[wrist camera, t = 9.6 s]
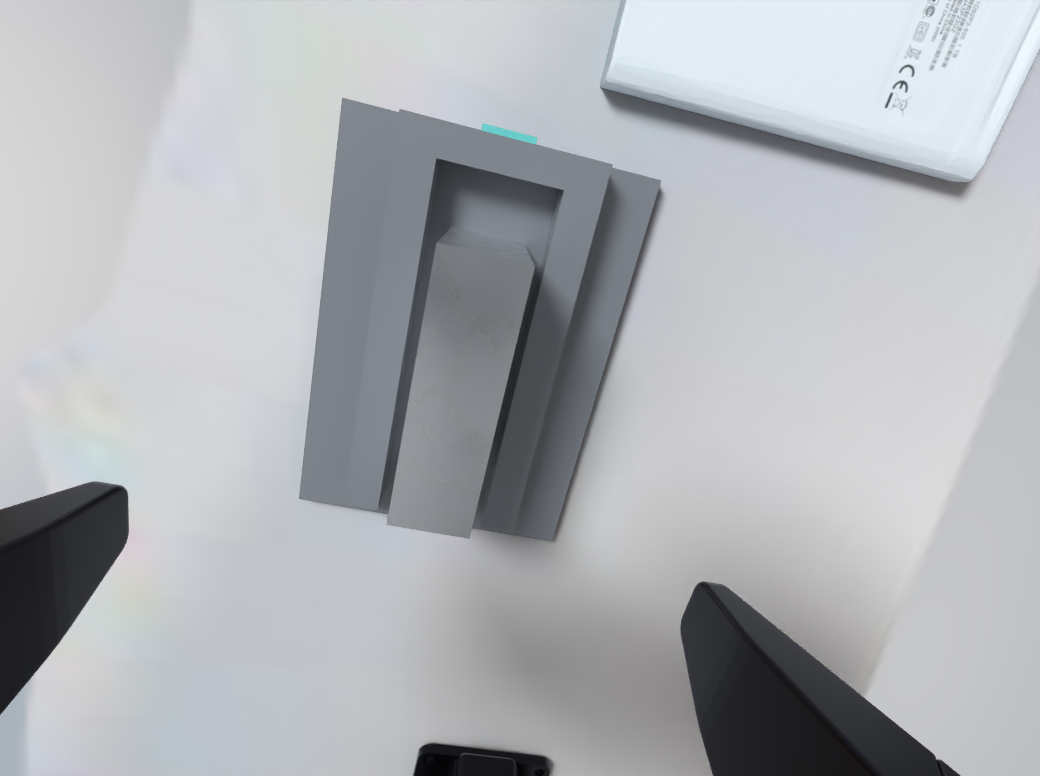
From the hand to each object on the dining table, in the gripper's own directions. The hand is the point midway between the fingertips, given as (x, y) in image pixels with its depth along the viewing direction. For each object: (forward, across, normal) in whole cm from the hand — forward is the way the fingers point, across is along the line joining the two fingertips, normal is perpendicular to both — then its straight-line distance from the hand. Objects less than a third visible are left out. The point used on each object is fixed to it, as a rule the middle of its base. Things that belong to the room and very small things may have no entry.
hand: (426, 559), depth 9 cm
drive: (+11, 0, 0) cm, 11 cm away
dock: (+12, 0, 0) cm, 12 cm away
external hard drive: (+12, -9, -13) cm, 20 cm away
